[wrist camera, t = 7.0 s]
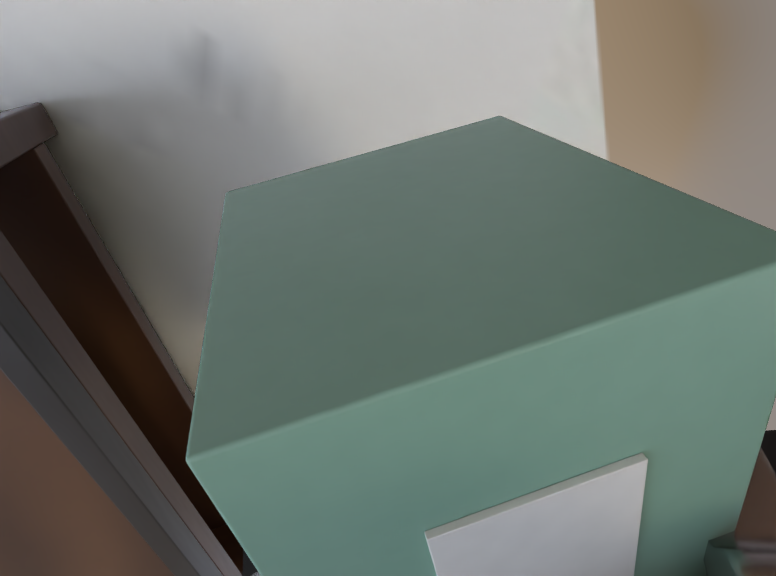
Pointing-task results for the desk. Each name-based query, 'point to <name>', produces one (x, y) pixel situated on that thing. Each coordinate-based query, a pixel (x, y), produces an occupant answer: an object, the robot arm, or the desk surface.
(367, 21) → the desk surface
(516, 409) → the tissue box
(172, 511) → the box
